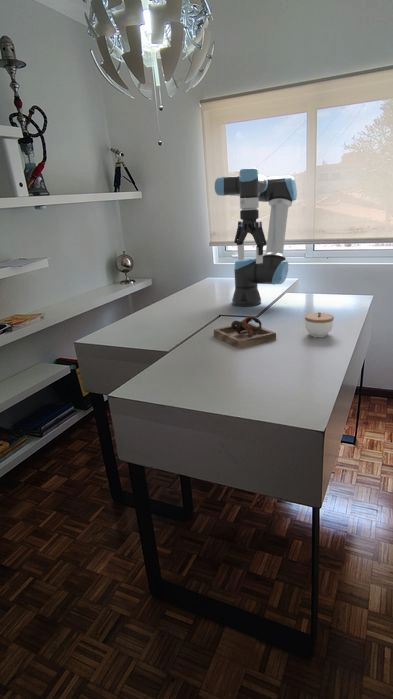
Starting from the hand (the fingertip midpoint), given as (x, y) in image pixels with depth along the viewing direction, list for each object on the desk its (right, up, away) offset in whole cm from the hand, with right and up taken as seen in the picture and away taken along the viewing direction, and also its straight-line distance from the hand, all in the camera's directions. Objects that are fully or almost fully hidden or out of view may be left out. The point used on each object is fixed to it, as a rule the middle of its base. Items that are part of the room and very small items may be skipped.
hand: (250, 261), depth 178 cm
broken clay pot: (-3, -32, -10) cm, 34 cm away
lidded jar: (+25, -32, -14) cm, 43 cm away
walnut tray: (-4, -33, -12) cm, 35 cm away
